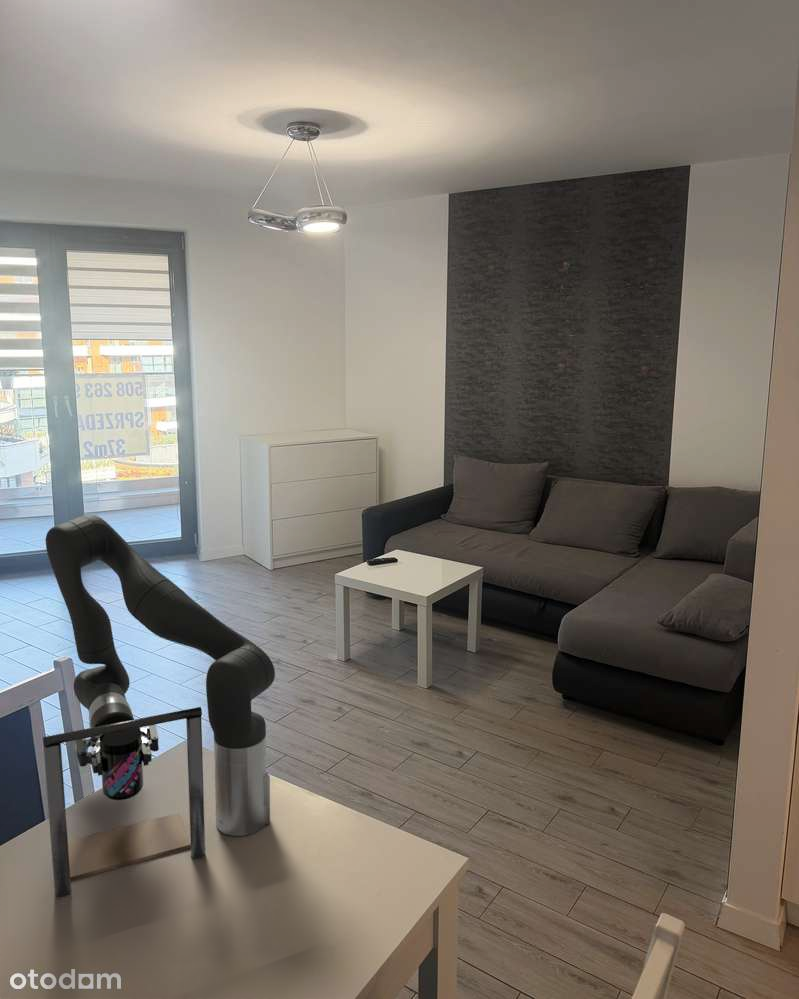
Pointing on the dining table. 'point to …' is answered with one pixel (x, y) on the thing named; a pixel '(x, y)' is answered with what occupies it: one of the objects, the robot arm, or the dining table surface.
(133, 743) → the supplement container
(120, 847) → the walnut board
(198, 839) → the frame
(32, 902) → the dining table surface
